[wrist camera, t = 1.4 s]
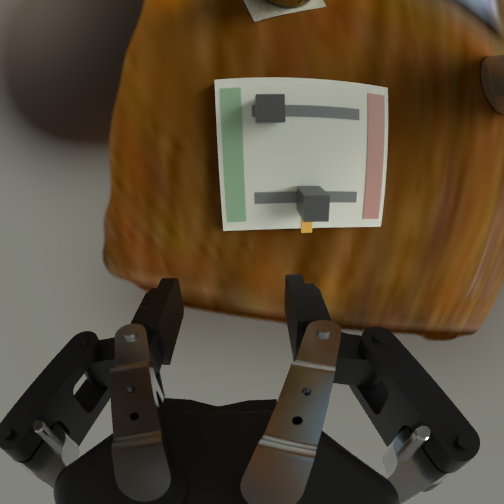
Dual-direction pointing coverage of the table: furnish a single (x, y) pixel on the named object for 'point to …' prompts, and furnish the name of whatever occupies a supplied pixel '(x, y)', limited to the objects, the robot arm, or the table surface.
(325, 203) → the block
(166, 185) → the table surface
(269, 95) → the block
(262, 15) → the condiment
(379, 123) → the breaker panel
